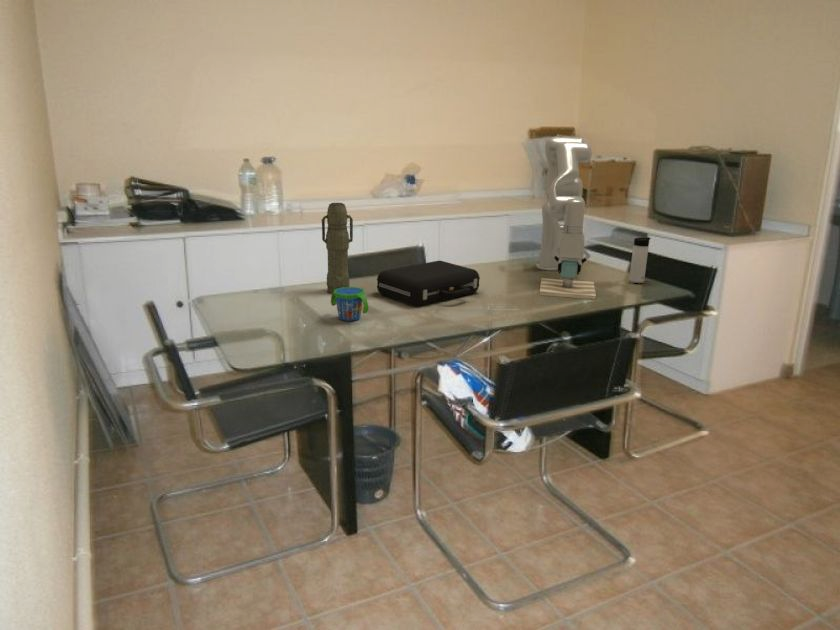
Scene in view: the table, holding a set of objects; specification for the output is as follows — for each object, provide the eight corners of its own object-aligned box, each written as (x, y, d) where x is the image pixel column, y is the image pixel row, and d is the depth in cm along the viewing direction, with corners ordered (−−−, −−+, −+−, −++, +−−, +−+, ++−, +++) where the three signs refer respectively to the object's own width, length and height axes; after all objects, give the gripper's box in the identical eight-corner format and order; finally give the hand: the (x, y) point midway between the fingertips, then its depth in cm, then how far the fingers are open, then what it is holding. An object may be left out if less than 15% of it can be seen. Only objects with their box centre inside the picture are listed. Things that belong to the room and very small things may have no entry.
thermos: (320, 289, 264) (319, 202, 253) (349, 287, 268) (348, 201, 257) (326, 295, 256) (324, 205, 245) (355, 293, 260) (354, 204, 249)
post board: (541, 281, 284) (542, 260, 282) (593, 285, 280) (595, 263, 277) (539, 295, 264) (541, 272, 261) (595, 299, 260) (598, 276, 257)
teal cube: (560, 273, 274) (561, 259, 272) (576, 274, 272) (577, 260, 271) (560, 276, 268) (561, 262, 266) (576, 277, 266) (578, 263, 265)
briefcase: (427, 314, 237) (427, 287, 234) (373, 294, 260) (373, 270, 257) (493, 297, 261) (495, 272, 258) (439, 280, 283) (439, 258, 280)
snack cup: (323, 316, 231) (322, 288, 227) (346, 310, 238) (345, 283, 235) (353, 327, 221) (352, 298, 217) (375, 320, 228) (375, 292, 225)
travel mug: (646, 284, 284) (652, 239, 278) (631, 284, 284) (636, 238, 278) (642, 280, 290) (647, 236, 284) (627, 280, 290) (632, 235, 284)
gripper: (551, 230, 263) (547, 273, 268) (595, 232, 259) (590, 276, 265) (551, 227, 270) (547, 269, 275) (594, 229, 266) (590, 272, 272)
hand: (568, 272), depth 270 cm, fingers closed on teal cube, 6 cm apart
